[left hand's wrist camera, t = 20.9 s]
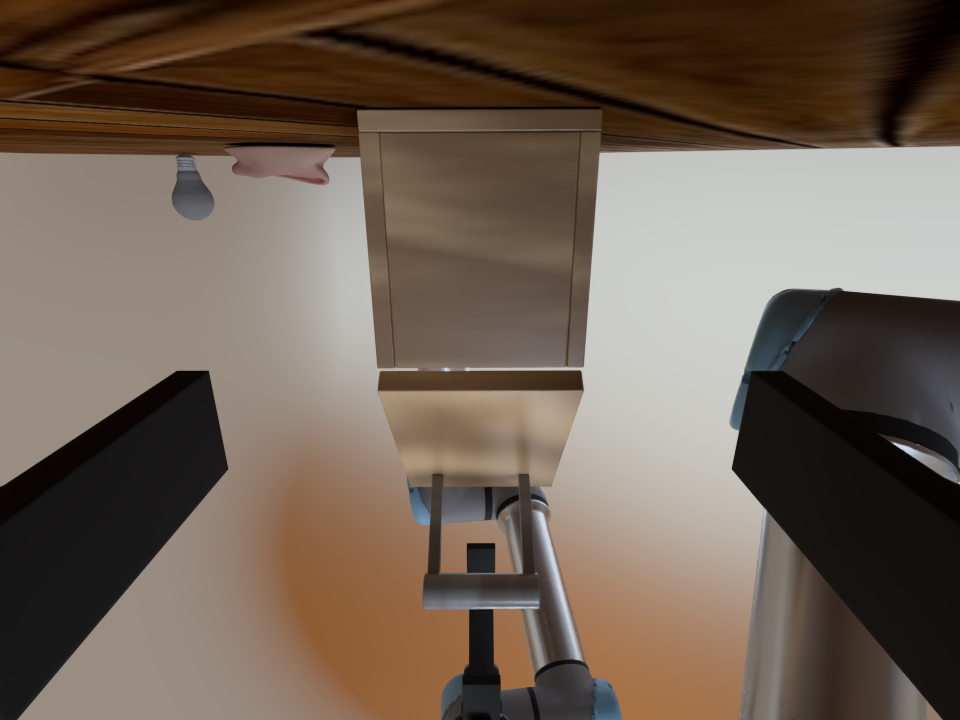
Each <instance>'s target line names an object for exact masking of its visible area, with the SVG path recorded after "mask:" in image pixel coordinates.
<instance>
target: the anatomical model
mask: <svg viewBox="0 0 960 720" xmlns="http://www.w3.org/2000/svg"><path fill="white" fill-rule="evenodd" d="M224 150H225V151H226V152H228V153H229V154H231V155H232V156H234V157H235V158H236V159H237V160H238V162H237V163H236V164H234V165H233V167H232V171H233V173H234V174H237V175H244V176H250V177H255V178H262V177H268V176H277V177H283V178H288V179H293V180H297V181H302V182H306V183H310V184H316V185H326V184H328V183H329V176H328V174H327V172H326V171H325V170H324V168H323V164H324V162H325V161H326V160H327V159H328V158H329V157H330V156H331V155H332V154H333V152H334V151H335V148H331V147H315V146H268V145H255V146H232V147H225V148H224Z"/></svg>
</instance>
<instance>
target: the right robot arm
mask: <svg viewBox="0 0 960 720" xmlns="http://www.w3.org/2000/svg"><path fill="white" fill-rule="evenodd" d="M418 371H469V368H418ZM407 483H408V489H409V498H410V503H411V508H412V512H413V515H414V518H415V519H416V521H417V522H418V523H420V524H423V525H430V513H431V493H432V487H411V486H410V483H409V480H408V477H407ZM530 493H531V511H532V528H533V545H534V563H535V573H538V577H539V585H540V607H539V609H520V611H521V616H522V621H523V626H524V631H525V636H526V641H527V646H528V651H529V657H530V662H531V667H532V672H533V677H534V681H535V686H536V687H527V688H519V689H511V690H503V691H501V681H500V675H499V669H498V667H497V665H495V664H494V640H493V609H469V664H468V665H466V666H465V669H464V673H461V674H459V675H457V676H455V677H454V678H452V679H451V680H450V681H449V682H448V683H447V684H446V686H445V688H444V690H443V692H442V696H441V720H622V717H621V711H620V706H619V702H618V699H617V696H616V693H615V692H614V691H613V688H612V686H611V684H610V682H609V681H607V680H605V679H597V678H592V677H591V674H590V672H589V668H588V665H587V662H586V658H585V655H584V651H583V647H582V644H581V640H580V637H579V633H578V630H577V626H576V623H575V619H574V615H573V612H572V608H571V605H570V601H569V598H568V594H567V591H566V587H565V583H564V580H563V576H562V573H561V569H560V566H559V562H558V559H557V555H556V552H555V548H554V544H553V541H552V537H551V534H550V530H549V527H548V523H549V521H550V518H551V514H550V510H549V506H548V503H547V500H546V498H545V495H544V494H543V492H542V490H541V489H540V487H539V486H534V487H530ZM484 520H497V524H498V527H499V529H500V530H501V531H502V532H503V533H505V534H506V540H507V545H508V550H509V555H510V560H511V564H512V570H513V573H522V552H521V530H520V508H519V487H443V511H442V524H443V523H455V522H470V521H484ZM467 573H495V543H467Z"/></svg>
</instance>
